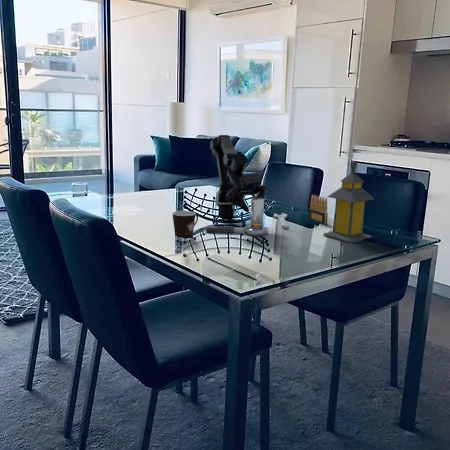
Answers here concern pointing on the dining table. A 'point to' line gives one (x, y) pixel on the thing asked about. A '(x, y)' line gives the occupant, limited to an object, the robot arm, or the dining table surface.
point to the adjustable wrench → (281, 220)
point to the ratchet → (237, 230)
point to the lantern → (349, 209)
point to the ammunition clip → (318, 210)
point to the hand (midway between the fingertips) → (256, 210)
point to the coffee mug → (184, 223)
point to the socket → (257, 213)
